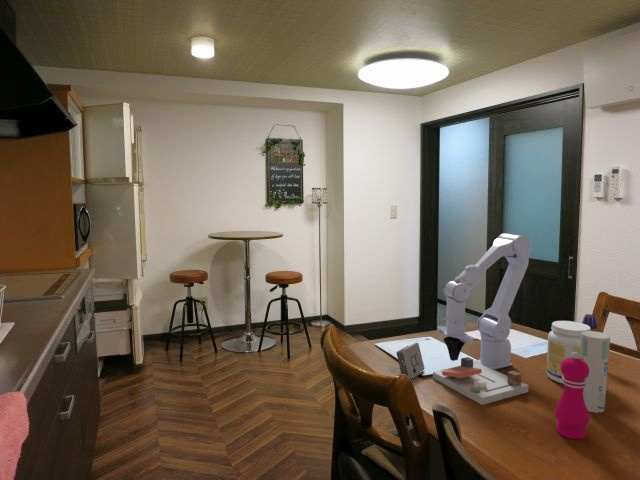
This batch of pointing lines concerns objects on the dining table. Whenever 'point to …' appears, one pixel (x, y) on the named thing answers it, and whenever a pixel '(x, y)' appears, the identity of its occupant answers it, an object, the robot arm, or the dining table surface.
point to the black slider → (467, 362)
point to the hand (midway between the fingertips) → (454, 359)
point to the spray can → (595, 368)
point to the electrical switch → (410, 360)
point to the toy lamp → (590, 321)
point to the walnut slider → (514, 378)
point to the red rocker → (461, 372)
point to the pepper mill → (572, 399)
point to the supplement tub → (563, 345)
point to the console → (482, 385)
